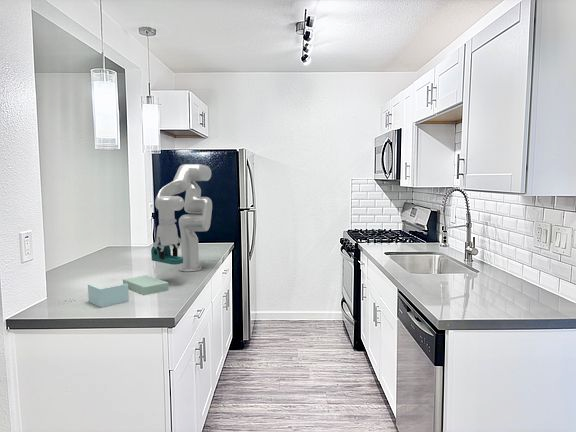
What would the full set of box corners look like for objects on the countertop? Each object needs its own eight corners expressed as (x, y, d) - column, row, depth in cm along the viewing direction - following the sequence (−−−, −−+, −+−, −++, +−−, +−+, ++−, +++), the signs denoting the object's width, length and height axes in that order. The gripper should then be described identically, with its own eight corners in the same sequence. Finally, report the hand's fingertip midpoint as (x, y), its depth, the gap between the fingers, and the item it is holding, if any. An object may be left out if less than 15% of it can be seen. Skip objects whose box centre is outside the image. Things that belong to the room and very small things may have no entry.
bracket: (151, 260, 218) (150, 245, 217) (162, 257, 223) (161, 243, 222) (175, 265, 207) (174, 249, 206) (186, 262, 213) (185, 246, 212)
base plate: (146, 283, 217) (146, 275, 217) (168, 291, 202) (168, 282, 202) (123, 287, 209) (122, 279, 209) (144, 296, 193) (144, 287, 193)
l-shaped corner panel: (128, 301, 184) (128, 283, 184) (100, 307, 176) (100, 289, 175) (115, 295, 192) (115, 279, 192) (88, 301, 184) (87, 284, 183)
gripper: (177, 220, 222) (178, 253, 224) (147, 223, 208) (148, 259, 211) (186, 221, 217) (187, 255, 219) (155, 225, 204) (157, 262, 206)
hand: (168, 257), depth 215 cm, fingers closed on bracket, 7 cm apart
